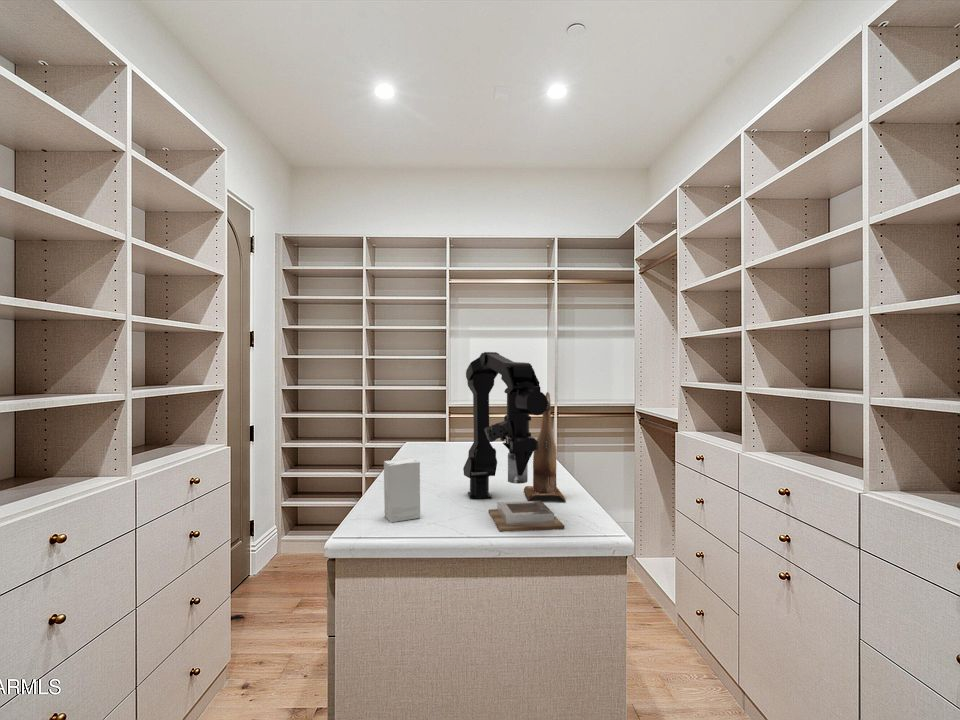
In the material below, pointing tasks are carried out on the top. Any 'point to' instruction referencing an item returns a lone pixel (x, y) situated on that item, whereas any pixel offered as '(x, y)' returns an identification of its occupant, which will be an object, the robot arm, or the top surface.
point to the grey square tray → (525, 513)
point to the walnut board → (503, 527)
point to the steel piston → (515, 471)
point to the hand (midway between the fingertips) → (517, 473)
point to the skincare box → (402, 489)
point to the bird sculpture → (544, 461)
